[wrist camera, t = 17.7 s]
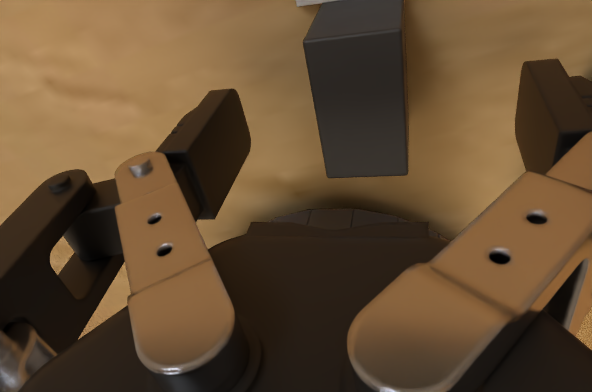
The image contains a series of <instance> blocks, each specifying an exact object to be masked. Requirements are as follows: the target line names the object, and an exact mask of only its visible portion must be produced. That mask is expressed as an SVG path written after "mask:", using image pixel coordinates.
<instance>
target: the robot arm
mask: <svg viewBox="0 0 592 392" xmlns="http://www.w3.org/2000/svg"><path fill="white" fill-rule="evenodd" d="M515 134H516V140H517V143H518V146H519V149H520V152H521V156H522V159H523V162H524V165H525V168H526V171H527V172H525V173H524V174H522V175H521V176H520V177H519V178H518V179H517V180H516V181H515V182H514V183H513V184H512V185H511V186H510V187H509V188H508V189H506V190H505V191H504V192H503V193H502V194H501V195H500V196H499V197H498V198H497V199H496V200H495V201H494V202H493V203H492V204H490V205H489V206H488V207H487V208H486V209H485V210H484V211H483V212H482V213H481V214H480V215H479V216H478V217H477V218H476V219H474V220H473V221H472V222H471V223H470V224H469V225H468V226H467V227H466V228H465V229H464V230H463V231H462V232H461V233H460V234H458V235H457V236H456V237H455V238H454V239H453V240H452V241H448V240H445V239H442V238H438V237H434V236H429V222H379V223H373V224H368V225H362V226H356V227H351V228H345V229H339V230H327V229H322V228H317V227H312V226H307V225H302V224H297V223H292V222H251V224H250V226H249V229H248V231H247V233H246V235H243V236H239V237H235V238H232V239H229V240H226V241H224V242H221V243H219V244H217V245H215V246H213V247H211V248H210V249H207V247H206V245H205V243H204V240H203V238H202V236H201V234H200V231H199V229H198V227H197V225H196V221H197V220H198V219H215V218H216V216H217V214H218V212H219V210H220V208H221V206H222V204H223V202H224V200H225V198H226V196H227V194H228V193H229V191H230V189H231V187H232V185H233V183H234V181H235V179H236V177H237V175H238V173H239V171H240V169H241V167H242V165H243V163H244V162H245V160H246V158H247V156H248V154H249V152H250V147H251V137H250V132H249V129H248V125H247V122H246V118H245V115H244V111H243V108H242V105H241V101H240V98H239V95H238V93H237V91H236V90H235V89H222V90H211V91H209V93H208V94H207V95H206V96H205V98H204V99H203V100H202V101H201V103H200V104H199V105H198V106H197V107H196V108H195V109H193V110H192V111H190V112H189V113H188V114H186V115H185V116H184V117H183V118H182V119H181V121H180V122H179V123H178V124H177V126H176V127H175V128H174V129H173V130H172V132H171V134H169V135H168V137H167V138H166V139H165V140H164V142H163V143H162V144H161V145H160V147H159V148H158V149H157V150H156V151H155V152H147V153H142V154H139V155H136V156H134V157H132V158H130V159H128V160H126V161H125V162H124V163H122V164H121V165H120V166H119V167H118V168H117V170H116V171H115V179H111V180H106V181H102V182H98V183H94V184H92V182H91V180H90V178H89V177H88V175H87V173H86V172H85V171H83V170H79V169H75V170H69V171H65V172H62V173H59V174H57V175H55V176H53V177H51V178H49V179H48V180H46V181H45V182H43V183H42V184H41V185H40V186H39V187H38V188H37V189H36V190H35V191H34V192H33V193H32V194H31V195H30V196H29V197H28V198H27V199H26V200H25V201H24V202H23V203H22V204H21V205H20V206H19V207H18V208H17V209H16V210H15V211H14V212H13V213H12V214H11V215H10V216H9V217H8V218H7V219H6V220H5V221H4V222H3V224H2V225H1V226H0V392H592V350H591V349H589V348H588V347H587V346H586V345H585V344H584V343H582V342H581V341H580V340H579V339H578V338H576V337H575V336H576V334H577V333H578V331H579V329H580V327H581V325H582V322H583V320H584V319H585V317H586V315H587V313H588V312H589V310H590V309H591V307H592V82H591V81H590V80H588V79H586V78H584V77H582V76H572V77H569V76H568V74H567V73H566V71H565V69H564V68H563V66H562V65H561V63H560V61H559V60H558V59H547V60H536V61H526V62H524V63H523V66H522V70H521V77H520V85H519V93H518V101H517V109H516V117H515ZM62 236H64V238H65V239H66V241H67V242H68V243H69V245H70V246H71V248H72V249H73V250H74V252H75V253H74V254H73V255H72V257H71V258H70V259H69V261H68V262H67V263H66V265H65V266H64V267H63V269H62V270H61V272H60V273H59V274H58V275H57V274H56V273H55V271H54V270H53V269H52V267H51V265H50V253H51V251H52V249H53V247H54V246H55V245H56V243H57V242H58V241H59V240H60V238H61V237H62ZM124 262H125V265H126V270H127V275H128V280H129V285H130V291H131V295H130V296H128V299H127V303H128V305H127V306H126V307H125V308H123V309H122V310H120V311H119V312H117V313H116V314H115V315H113V316H112V317H110V318H109V319H107V320H106V321H105V322H103V323H102V324H100V325H99V326H97V327H96V328H94V329H93V330H92V331H90V332H89V333H87V334H86V335H84V336H83V337H82V338H80V339H79V340H78V338H79V336H80V335H81V333H82V331H83V330H84V328H85V326H86V325H87V323H88V321H89V320H90V318H91V316H92V315H93V313H94V311H95V310H96V308H97V306H98V305H99V303H100V301H101V300H102V298H103V296H104V295H105V293H106V291H107V290H108V288H109V286H110V285H111V283H112V282H113V280H114V278H115V277H116V275H117V273H118V272H119V270H120V268H121V267H122V265H123V263H124Z"/></svg>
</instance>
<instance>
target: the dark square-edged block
mask: <svg viewBox="0 0 592 392" xmlns="http://www.w3.org/2000/svg"><path fill="white" fill-rule="evenodd" d="M320 3H322V5H321V7H320V9H319V11H318V13H317V15H316V16H315V18H314V20H313V22H312V24H311V26H310V28H309V30H308V32H307V34H306V36H305V38H304V40H303V47H304V52H305V58H306V63H307V69H308V74H309V80H310V86H311V91H312V97H313V102H314V108H315V113H316V119H317V124H318V130H319V135H320V141H321V146H322V152H323V157H324V163H325V168H326V174H327V177H328V178H349V177H377V176H405V175H407V174H408V145H409V115H408V89H407V63H406V36H405V10H404V0H296V5H297V7H300V6H306V5H313V4H320Z"/></svg>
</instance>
